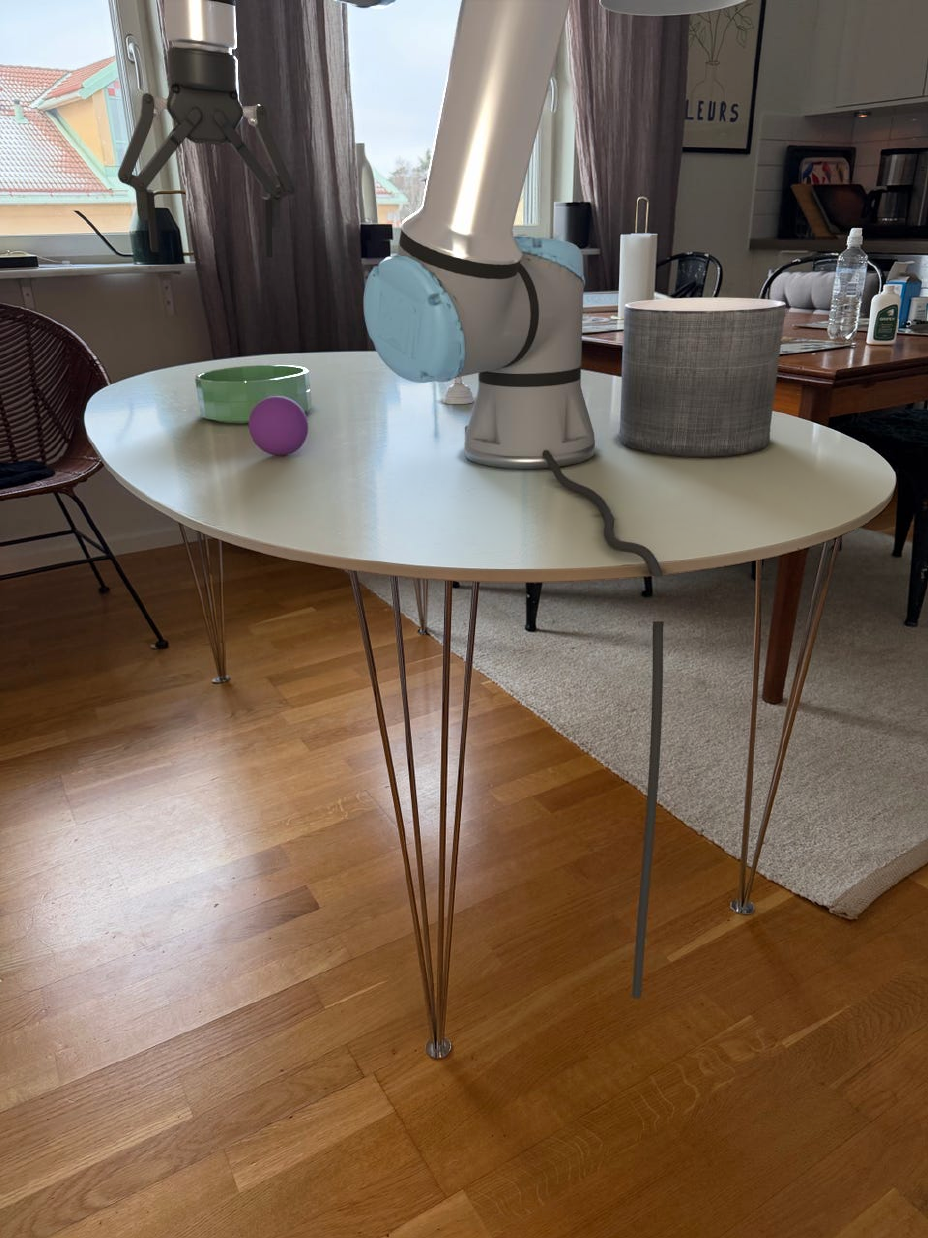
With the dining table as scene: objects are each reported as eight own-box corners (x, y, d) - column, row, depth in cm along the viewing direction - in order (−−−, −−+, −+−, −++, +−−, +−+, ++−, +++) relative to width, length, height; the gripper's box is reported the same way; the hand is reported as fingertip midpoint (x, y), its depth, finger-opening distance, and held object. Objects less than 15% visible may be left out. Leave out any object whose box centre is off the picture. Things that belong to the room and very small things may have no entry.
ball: (304, 461, 101) (297, 401, 98) (245, 462, 101) (237, 402, 98) (316, 447, 107) (310, 390, 104) (261, 448, 107) (253, 391, 105)
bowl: (298, 424, 120) (294, 380, 118) (186, 426, 121) (179, 383, 119) (321, 402, 135) (317, 363, 133) (220, 405, 136) (214, 366, 134)
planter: (603, 428, 112) (608, 300, 105) (735, 422, 113) (748, 295, 106) (641, 462, 96) (649, 313, 89) (795, 454, 97) (814, 306, 90)
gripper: (305, 62, 103) (305, 252, 114) (80, 34, 94) (103, 242, 105) (320, 62, 97) (318, 262, 108) (80, 32, 88) (105, 253, 99)
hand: (212, 253), depth 106 cm, fingers open, 13 cm apart
